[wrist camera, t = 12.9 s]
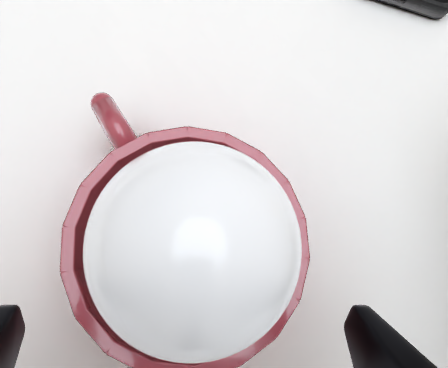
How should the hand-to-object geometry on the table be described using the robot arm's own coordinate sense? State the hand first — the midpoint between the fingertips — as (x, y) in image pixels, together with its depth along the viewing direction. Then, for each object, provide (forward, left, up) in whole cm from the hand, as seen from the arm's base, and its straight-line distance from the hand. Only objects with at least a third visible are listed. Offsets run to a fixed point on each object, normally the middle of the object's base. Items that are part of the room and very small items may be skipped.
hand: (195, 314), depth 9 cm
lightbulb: (+2, 0, -9) cm, 9 cm away
